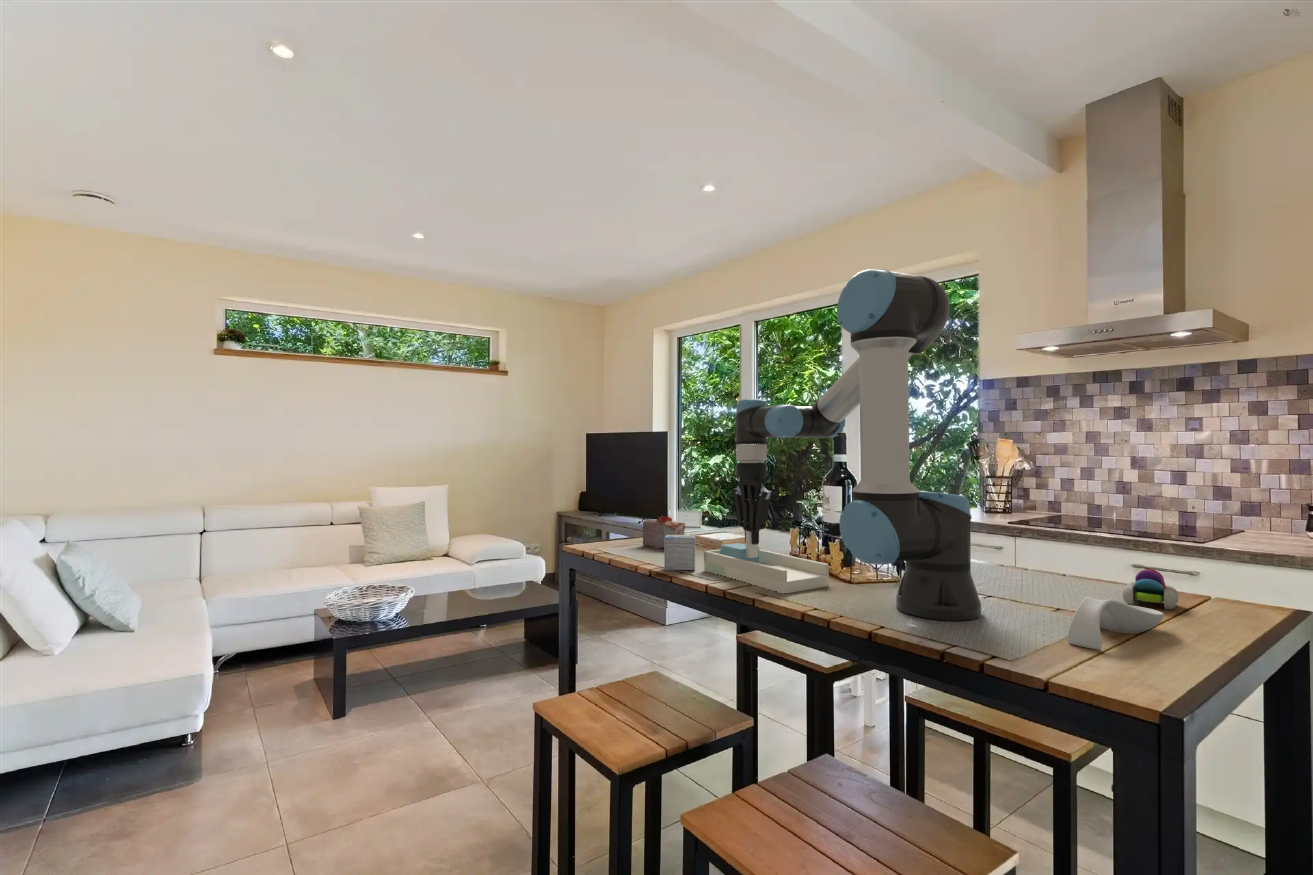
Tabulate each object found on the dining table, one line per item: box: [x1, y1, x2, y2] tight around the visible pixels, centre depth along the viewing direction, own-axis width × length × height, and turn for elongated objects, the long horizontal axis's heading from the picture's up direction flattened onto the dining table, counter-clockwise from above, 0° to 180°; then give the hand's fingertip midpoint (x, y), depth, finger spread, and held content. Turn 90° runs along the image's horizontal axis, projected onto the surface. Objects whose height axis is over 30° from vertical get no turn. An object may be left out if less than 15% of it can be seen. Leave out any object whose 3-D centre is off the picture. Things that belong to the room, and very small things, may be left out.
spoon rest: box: [1067, 596, 1165, 651], centre depth 108 cm, size 24×12×7 cm, turn 129°
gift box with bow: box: [642, 515, 686, 549], centre depth 198 cm, size 14×8×10 cm, turn 53°
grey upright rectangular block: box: [663, 534, 696, 572], centre depth 163 cm, size 8×4×9 cm, turn 84°
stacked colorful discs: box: [1122, 568, 1179, 611], centre depth 127 cm, size 8×10×7 cm
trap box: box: [703, 548, 830, 595], centre depth 152 cm, size 29×14×5 cm, turn 32°
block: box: [720, 542, 760, 563], centre depth 160 cm, size 8×6×4 cm
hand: (751, 557), depth 156 cm, fingers closed
